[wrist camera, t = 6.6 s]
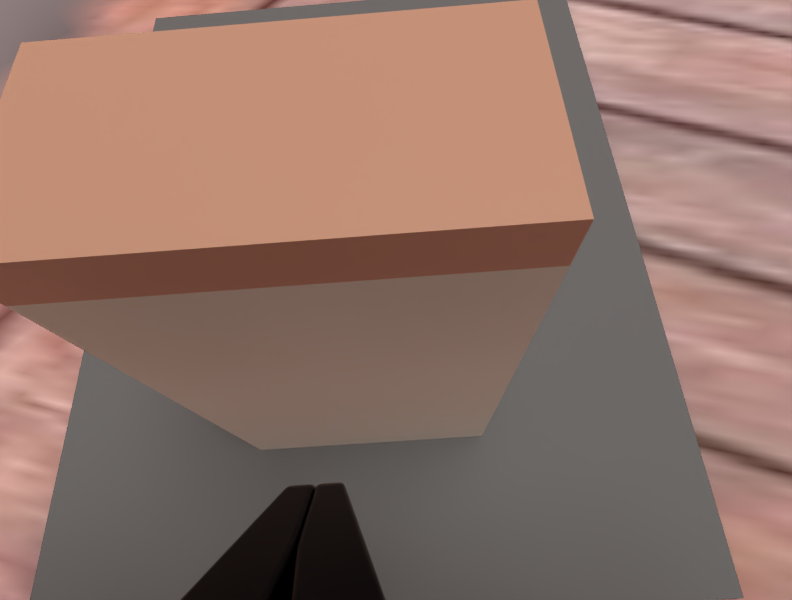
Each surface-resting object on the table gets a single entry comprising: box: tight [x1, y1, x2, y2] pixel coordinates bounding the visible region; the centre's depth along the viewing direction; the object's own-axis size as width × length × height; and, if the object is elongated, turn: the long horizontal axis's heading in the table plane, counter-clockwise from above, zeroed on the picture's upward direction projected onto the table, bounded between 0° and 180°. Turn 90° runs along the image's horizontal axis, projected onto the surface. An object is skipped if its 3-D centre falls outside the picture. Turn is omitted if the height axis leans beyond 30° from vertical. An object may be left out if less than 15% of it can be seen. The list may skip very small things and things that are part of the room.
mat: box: [30, 0, 743, 600], centre depth 20 cm, size 26×20×1 cm
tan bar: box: [0, 0, 594, 450], centre depth 12 cm, size 4×7×12 cm, turn 93°
